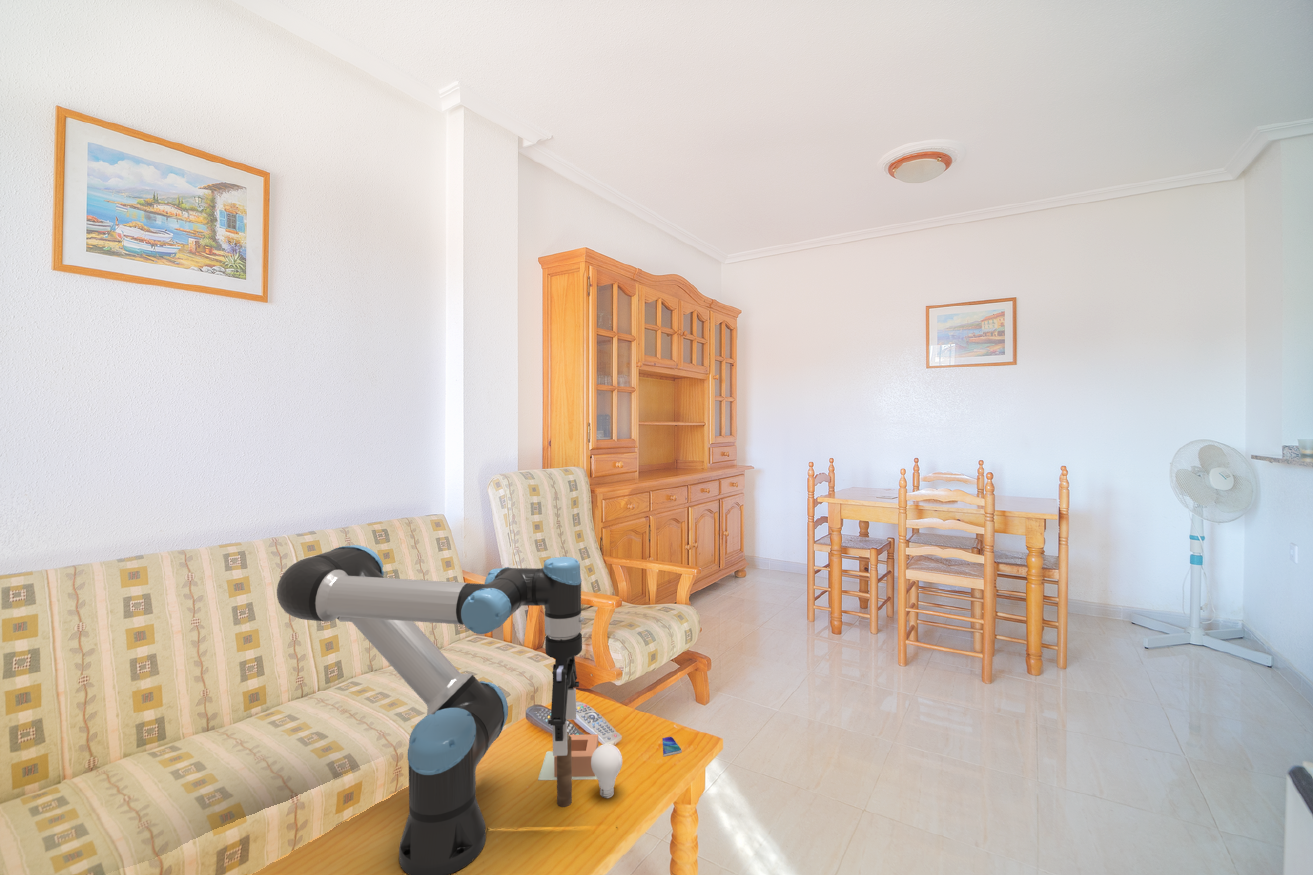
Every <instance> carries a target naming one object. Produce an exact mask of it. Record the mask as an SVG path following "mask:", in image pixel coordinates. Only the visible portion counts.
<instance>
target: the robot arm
mask: <svg viewBox="0 0 1313 875" xmlns="http://www.w3.org/2000/svg"><path fill="white" fill-rule="evenodd" d="M383 568H384V564H383V561H382V560H381V558H380V556H379V555H378V554H377V553H376V552H375V551H374V550H373V549H371V548H369V547H367V546H364V545H360V544H359V545H358V544H353V545H351V544H350V545H344V546H339V547H335V548H333V549H332V550H331V549H330V550H329V551H325V552H323V553H320V554H317V555H313V556H309V557H306V558H303V559H300V560H298V561H296V562H295V563H293V564H291V565H290V566H288V568H287V569H286V570H285V571H284V572H283V573H282V575H280V576H281V577H280V578H279V581H278V583H277V587H276V598H277V600H278V604H279V605H280V607H281V609H282V610H284V612H285V613H286V614H288V615H289V616H291V617H294V618H297V619H298V620H299V619H300V620H304V621H314V622H333V621H335V620H338V621H339V622H342V623H344V622H345V623H346V622H348V623H352V624H353V625H354V626H355V627H356V629H357V630H358V631H359V632H360V633H361V634H362V635H363V637H365V639H366V640H367V641H368V642H369V643H370V644H371V645H372V646H373V647H374V648H375V650H376V651H377V652H378V653H379V654H380V655H381V656H382V657H383V658H384V659H385V661H387V663H388V664H389V665H390V666H391V667H392V669H393V670H394V671H395V672H396V673H397V674H398V675H399V676H400V677H401V678H402V680H403V681H404V682H405V683H406V684H407V685H408V686H409V687H410V688H411V689H412V691H413V692H414V693H415V694H416V695H417V696H418V697H419V698H420V700H422V701H423V703H424V704H425V705H426V707H427V710H426V711H427V712H426V716H424V718H422V719H420V720H419V721H418V722H417V723H416V725H415V726H414V727H413V729H412V730H411V732H410V736H409V739H408V748H407V761H408V762H407V763H408V805H409V808H408V810H409V811H408V812H409V813H408V816H407V820H406V822H405V825H404V830H403V832H402V836H401V837H400V842H399V846H398V849H399V850H398V855H399V856H398V857H399V858H398V859H399V860H398V862H399V865H400V867H401V870H403V871H404V872H405V873H406V874H407V875H452V874H453V873H455V872H457V871H460V870H462V869H464V868H465V867H466V866H468V865H470V863H472V862H473V861H474V860H475V859H476V858H477V857H478V856H479V855H480V853H481V852H482V851H483V848H484V847H485V844H486V840H487V839H486V836H487V835H486V834H487V833H486V832H487V831H486V822H485V819H484V816H483V814H482V810H481V808H480V805H479V803H478V800H477V796H476V787H477V786H476V784H477V783H476V781H477V780H476V779H477V778H476V771H477V766H478V765H479V763H480V762H481V760H482V759H483V758H484V756H485V755H486V753H487V752H488V750H490V747H491V746H492V745H493V743H494V742H495V741H496V740H497V739H498V738H499V736H501V733H502V731H503V729H504V726H505V725H506V722H507V720H508V716H509V715H508V714H509V705H508V700H507V697H506V696H505V693H504V692H503V690H502V689H501V688H500V687H499V686H498V685H496V684H495V683H493V682H490V681H487V682H486V681H479V680H478V679H477V677H475V676H474V674H473V673H461V672H460V671H459V670H458V668H456V666H455V665H453V664H452V662H451V661H450V660H449V659H448V658H447V656H445V654H444V653H443V652H442V651H441V649H439V648H438V646H436V645H435V643H434V642H433V641H432V640H431V639H430V638H429V637H428V635H426V634H425V633H424V631H423V630H422V629H421V627H419V625H417V624H416V623H415V622H417V623H430V624H431V623H432V624H446V625H447V624H450V625H464V626H465V628H466V629H467V630H469V631H471V632H473V633H474V634H478V635H485V634H486V635H487V634H489V633H491V632H493V631H495V630H496V629H498V628H501V626H503V625H504V623H505V622H506V621H507V620H508V619H510V617H511V616H512V615H513V614H514V613H515V612H517V611H518V610H519V609H520V608H521V607H525V606H528V607H529V606H538V607H540V606H543V607H544V634H545V635H546V636H545V637H544V638H545V639H544V641H545V644H544V645H545V646H544V647H545V650H544V651H545V652H544V653H545V654H546V656H547V657H549V658H553V659H555V660H554V662H555V663H554V664H553V667H552V672H551V673H552V687H551V688H552V689H551V705H550V706H551V707H550V710H551V711H550V719H547V720H548V722H547V723H548V725H550V726H551V727H552V751H553V756H566V755H567V732H568V720H569V721H570V720H571V721H572V720H577V691H576V689H577V688H579V687H580V681H577V679H578V676H577V668H576V667H577V666H576V656H578V655H579V654H580V653H581V652H582V650H583V634H582V633H581V632H582V629H583V628H582V623H584V622H585V617H584V616H582V581H583V580H582V576H581V564H580V561H579V560H578V559H577V558H575V557H571V556H560V557H551V558H548V559H546V560H545V561H544V563H543V567H541V568H534V567H533V568H530V567H529V568H525V567H523V568H521V567H520V568H519V567H509V566H507V567H501V568H493V569H491V570H489V572H488V573H487V576H486V577H485V580H484V583H473V582H472V583H470V582H456V581H442V580H441V581H440V580H426V579H424V580H423V579H407V578H393V577H384V573H385V571H384V570H383Z"/></svg>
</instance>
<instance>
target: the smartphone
mask: <svg viewBox="0 0 1313 875" xmlns="http://www.w3.org/2000/svg"><path fill="white" fill-rule="evenodd" d="M661 739H662V753H663V754H662V755H663V756H662V757H668V756H673V755H678V754H681V753H682V751H683V749H682V748H681V747H680V745H679V744H678V743H677V742H676V740H675V738H674V737H673V736H666V737H662V738H661Z"/></svg>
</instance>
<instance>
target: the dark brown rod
mask: <svg viewBox="0 0 1313 875" xmlns="http://www.w3.org/2000/svg"><path fill="white" fill-rule="evenodd" d="M569 735H570V734H569V731H567V755H566V756H557V780H556V799H557V800H556V804H557V806H558V807H561V808H566V807H569V806H571V804H572V801H573V800H572V798H573V795H572V794H573V787H572V786H573V785H572V784H573V782H572V781H573V780H572V757H571V737H570V736H569Z"/></svg>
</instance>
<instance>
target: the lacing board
mask: <svg viewBox="0 0 1313 875" xmlns="http://www.w3.org/2000/svg"><path fill="white" fill-rule="evenodd" d="M574 780H575V781H576V780H577V781H578V780H598V779H597V777H596V775H595V776H583V777H572V781H574ZM537 781H557V777H554V756H553V750H552V751H551V750H550V751H549V750H548V751H546V753H545V756H544V758H543V763H542V766H541V770H540V772H539V774H538V778H537Z"/></svg>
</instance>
